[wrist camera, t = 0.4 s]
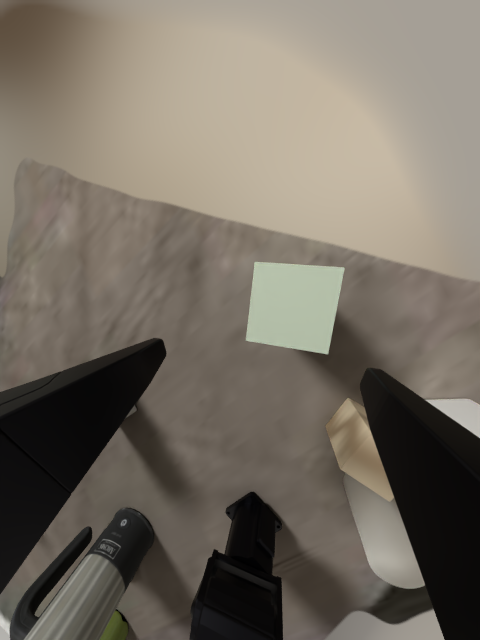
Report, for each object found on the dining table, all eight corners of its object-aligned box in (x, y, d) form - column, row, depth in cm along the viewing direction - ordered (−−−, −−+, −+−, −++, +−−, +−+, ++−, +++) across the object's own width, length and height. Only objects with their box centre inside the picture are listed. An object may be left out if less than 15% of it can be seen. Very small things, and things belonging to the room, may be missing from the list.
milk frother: (147, 507, 33) (42, 670, 18) (170, 580, 34) (88, 790, 19) (93, 504, 36) (-29, 637, 22) (116, 570, 37) (12, 739, 23)
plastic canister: (362, 508, 23) (395, 595, 16) (334, 478, 23) (355, 551, 17) (396, 491, 22) (447, 578, 15) (365, 460, 22) (401, 531, 15)
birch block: (361, 448, 22) (389, 501, 16) (325, 425, 23) (339, 469, 17) (386, 420, 21) (426, 466, 15) (347, 397, 22) (371, 432, 16)
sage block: (301, 322, 22) (328, 354, 9) (265, 317, 23) (245, 340, 10) (307, 285, 21) (344, 267, 9) (270, 282, 22) (255, 261, 10)
